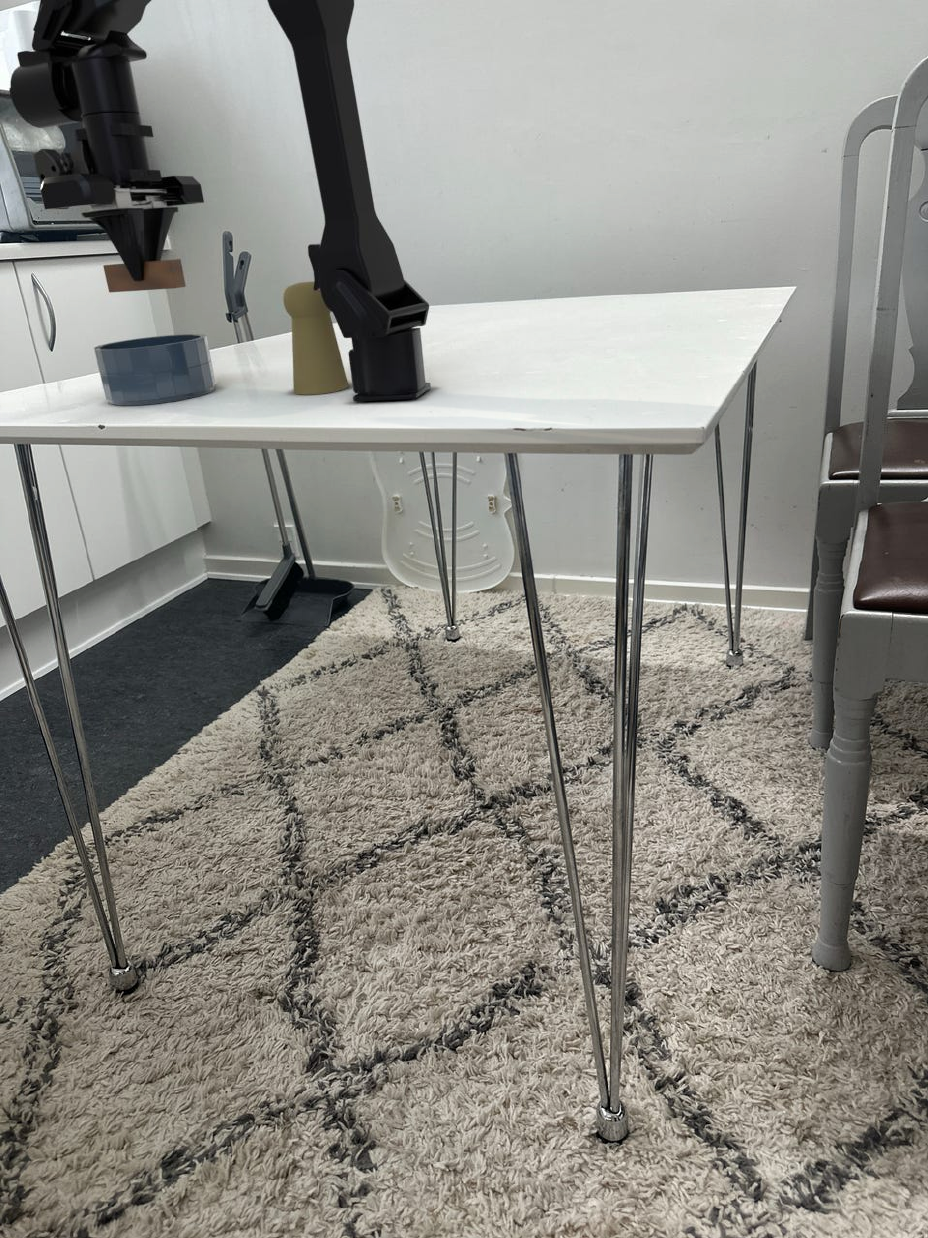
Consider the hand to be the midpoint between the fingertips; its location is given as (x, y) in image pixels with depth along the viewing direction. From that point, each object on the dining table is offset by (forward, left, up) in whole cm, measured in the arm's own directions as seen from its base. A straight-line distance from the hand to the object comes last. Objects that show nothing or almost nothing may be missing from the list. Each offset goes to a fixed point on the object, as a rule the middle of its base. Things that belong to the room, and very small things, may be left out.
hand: (145, 279), depth 97 cm
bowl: (+1, -1, -13) cm, 13 cm away
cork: (-19, 0, -13) cm, 23 cm away
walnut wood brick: (0, 0, -1) cm, 1 cm away
